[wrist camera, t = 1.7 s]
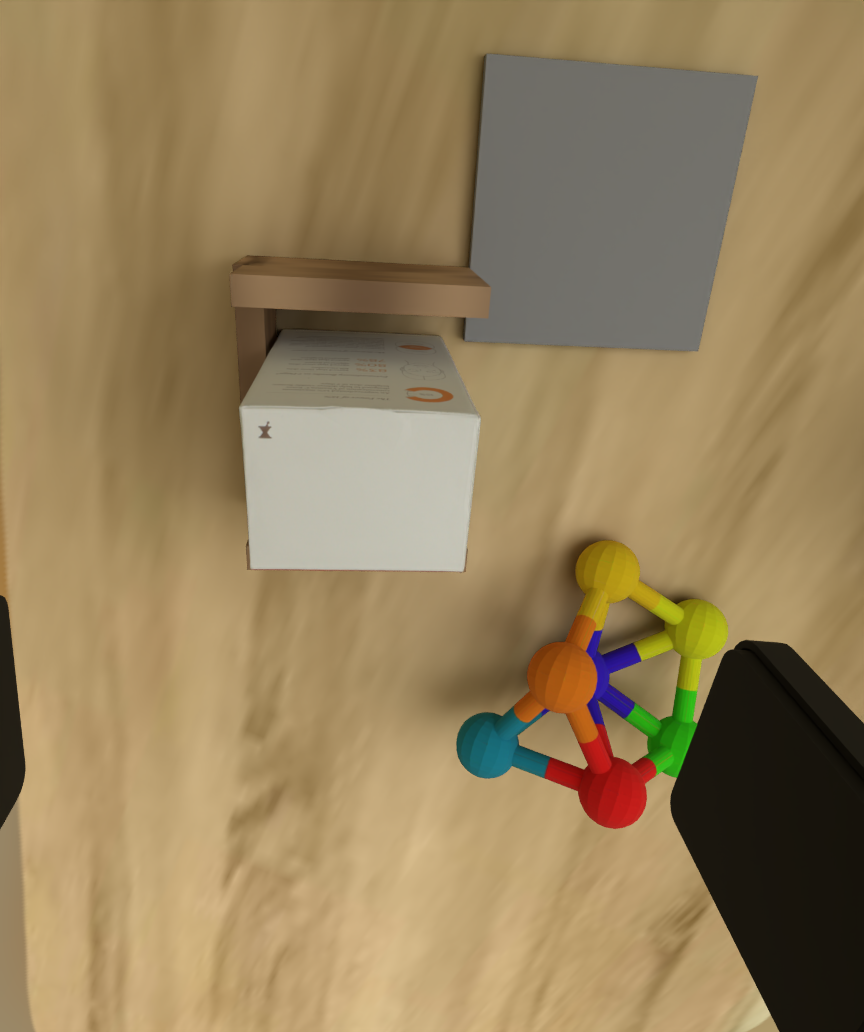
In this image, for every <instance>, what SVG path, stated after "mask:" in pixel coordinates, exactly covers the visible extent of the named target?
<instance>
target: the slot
mask: <svg viewBox="0 0 864 1032" xmlns="http://www.w3.org/2000/svg"><path fill="white" fill-rule="evenodd" d="M230 291H231V307H235V315H236V332H237V349H238V366H239V383H240V400H241V403H242V401H243V399H244V397H245V396H246V394H247V392H248V390H249V389H250V387H251V385H252V383H253V381H254V380H255V378H256V376H257V374H258V372H259V371H260V369H261V367H262V365H263V363H264V361H265V359H266V357H267V356H268V354H269V352H270V350H271V348H272V347H273V345H274V343H275V342H276V340H277V334H276V309H294V310H316V311H337V312H359V313H381V314H402V315H424V316H445V317H467V318H488V317H489V306H490V295H491V286H489V285H488V284H487V283H486V282H485V281H484V280H483V279H481V278H480V277H479V276H478V275H477V274H476V273H475V272H473V271H472V270H471V269H470V268H469V267H454V266H435V265H416V264H397V263H379V262H360V261H341V260H322V259H304V258H285V257H266V256H246V257H244V258H243V259H241V260H239V261H238V262H236V263H235V264H233V272H231V273H230ZM247 520H248V518H247ZM248 537H249V533H248ZM467 550H468V549H467ZM467 550H466V559H465V568H464V570H463V572H466V562H467ZM246 555H247V570H252V569H251V568H250V551H249V539H248V542H247V545H246Z"/></svg>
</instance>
